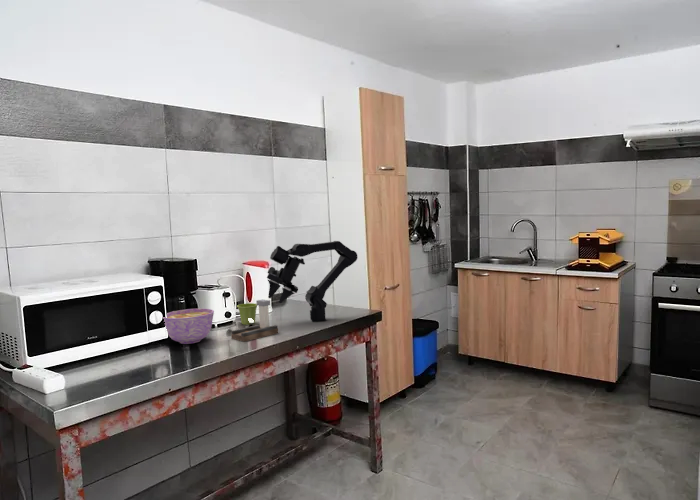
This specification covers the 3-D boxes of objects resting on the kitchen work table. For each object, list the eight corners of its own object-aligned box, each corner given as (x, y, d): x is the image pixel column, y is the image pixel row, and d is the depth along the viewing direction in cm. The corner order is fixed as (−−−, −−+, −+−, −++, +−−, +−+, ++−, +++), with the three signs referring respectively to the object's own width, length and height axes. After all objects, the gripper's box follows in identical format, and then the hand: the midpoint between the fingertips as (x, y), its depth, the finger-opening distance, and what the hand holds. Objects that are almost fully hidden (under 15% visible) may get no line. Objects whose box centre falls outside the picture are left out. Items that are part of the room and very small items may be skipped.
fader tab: (264, 326, 216) (262, 299, 215) (271, 328, 212) (270, 300, 212) (258, 327, 214) (256, 300, 213) (265, 329, 210) (263, 301, 209)
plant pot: (261, 321, 239) (260, 302, 238) (255, 325, 230) (254, 306, 229) (241, 321, 240) (240, 303, 239) (235, 326, 231) (234, 307, 230)
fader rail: (265, 330, 219) (264, 323, 219) (278, 333, 213) (277, 325, 212) (231, 338, 207) (231, 330, 206) (244, 341, 200) (243, 333, 200)
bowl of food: (165, 338, 212) (163, 311, 211) (214, 333, 218) (212, 306, 217) (162, 350, 193) (160, 320, 192) (217, 344, 199) (215, 315, 198)
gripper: (286, 269, 240) (271, 299, 237) (266, 256, 224) (249, 288, 221) (304, 277, 235) (289, 308, 232) (285, 265, 218) (268, 297, 216)
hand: (274, 300), depth 226 cm, fingers open, 9 cm apart
